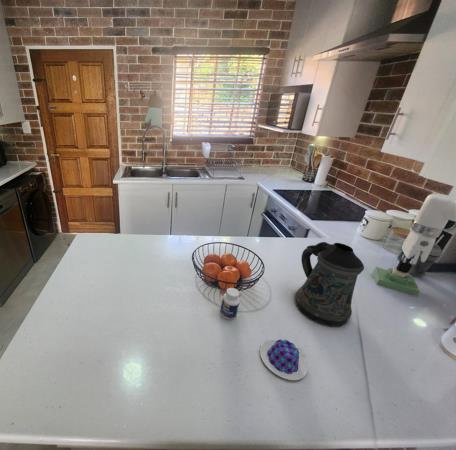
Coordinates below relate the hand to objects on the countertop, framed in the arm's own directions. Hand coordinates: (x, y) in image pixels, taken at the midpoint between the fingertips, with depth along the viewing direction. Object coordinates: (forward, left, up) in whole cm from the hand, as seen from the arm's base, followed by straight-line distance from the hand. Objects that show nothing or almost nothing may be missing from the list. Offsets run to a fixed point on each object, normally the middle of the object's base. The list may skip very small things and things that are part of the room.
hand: (401, 270), depth 96 cm
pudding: (+33, +60, -8) cm, 69 cm away
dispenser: (0, 0, -8) cm, 8 cm away
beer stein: (+26, +31, -8) cm, 41 cm away
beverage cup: (-10, -16, -8) cm, 20 cm away
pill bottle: (+51, +52, -8) cm, 73 cm away
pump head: (0, 0, -2) cm, 2 cm away
